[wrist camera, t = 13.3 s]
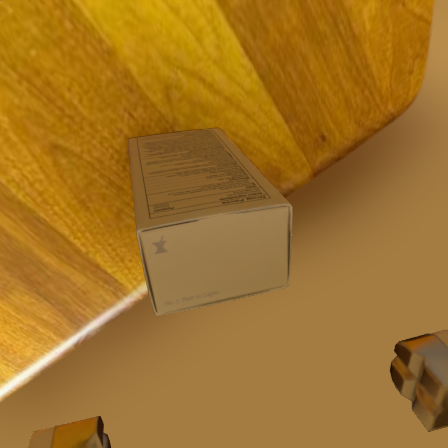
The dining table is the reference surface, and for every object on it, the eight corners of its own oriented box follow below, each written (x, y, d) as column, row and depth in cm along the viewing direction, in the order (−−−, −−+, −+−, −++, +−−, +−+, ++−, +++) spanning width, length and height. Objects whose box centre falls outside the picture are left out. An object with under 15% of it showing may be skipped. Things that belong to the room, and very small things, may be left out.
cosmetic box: (138, 198, 26) (148, 321, 16) (126, 134, 24) (128, 230, 14) (227, 184, 27) (291, 292, 17) (224, 122, 25) (295, 203, 15)
